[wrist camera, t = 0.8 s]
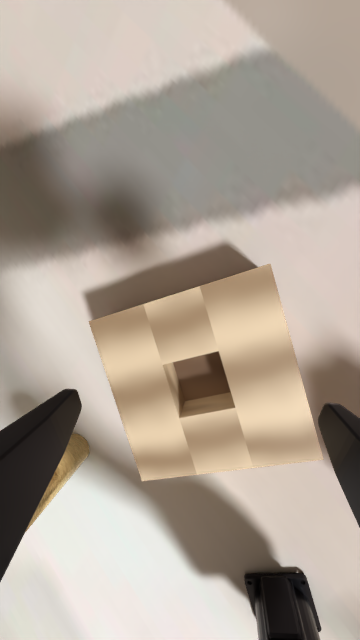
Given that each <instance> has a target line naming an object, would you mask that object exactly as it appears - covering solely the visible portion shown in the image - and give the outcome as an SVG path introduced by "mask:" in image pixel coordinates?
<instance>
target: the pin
mask: <svg viewBox="0 0 360 640" xmlns="http://www.w3.org/2000/svg"><path fill="white" fill-rule="evenodd" d="M88 455H89V445H88V443H87V441H86V440H85V439H84V438H83V437H82V436H80V435H78V434H72V435H71V438H70V440H69V443H68V445H67V448H66V450H65V452H64V455H63V457H62V459H61V461H60V463H59V465H58V467H57V469H56V471H55V473H54V475H53V477H52V479H51V481H50V483H49V485H48V487H47V489H46V491H45V493H44V495H43V497H42V499H41V501H40V503H39V505H38V507H37V509H36V511H35V513H34V515H33V517H32V519H31V521H30V523H29V525H28V527H27V529H26V531H27V530H28V528H29V527H30V526H31V525H32V524H33V522H34V521H35V520H36V519H37V517H38V516H39V515H40V514H41V513H42V511H43V510H44V509H45V508H46V507H47V505H48V504H49V503H50V502H51V500H52V499H53V498H54V497H55V496H56V494H57V493H58V492H59V491H60V489H61V488H62V487H63V486H64V485H65V483H66V482H67V481H68V480H69V478H70V477H71V476H72V475H73V474H74V472H75V471H76V470H77V469H78V467H79V466H80V465H81V464H82V463H83V461H84V460H85V459H86V458H87V456H88ZM26 531H25V532H26Z"/></svg>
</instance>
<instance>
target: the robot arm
mask: <svg viewBox="0 0 360 640" xmlns="http://www.w3.org/2000/svg"><path fill="white" fill-rule="evenodd" d="M81 407H82V405H81V401H80V398H79V395H78V392H77V390H75V389H64V390H62V391H61V392H59V393H58V394H56V395H55V396H53V397H52V398H50V399H49V400H47V401H46V402H44V403H42V404H41V405H39V406H38V407H36V408H35V409H33V410H32V411H30V412H29V413H27V414H26V415H24V416H22V417H21V418H19V419H18V420H16V421H15V422H13V423H12V424H10V425H9V426H7V427H6V428H4V429H3V430H1V431H0V582H1V580H2V578H3V576H4V574H5V572H6V570H7V568H8V566H9V564H10V562H11V559H12V557H13V555H14V553H15V551H16V549H17V547H18V545H19V543H20V541H21V539H22V537H23V535H24V533H25V531H26V529H27V527H28V525H29V523H30V521H31V519H32V517H33V515H34V513H35V511H36V509H37V507H38V505H39V503H40V501H41V499H42V497H43V495H44V493H45V491H46V489H47V487H48V485H49V483H50V481H51V479H52V477H53V475H54V473H55V471H56V469H57V467H58V465H59V463H60V461H61V459H62V457H63V455H64V452H65V450H66V448H67V445H68V443H69V440H70V438H71V435H72V432H73V430H74V427H75V425H76V422H77V419H78V417H79V414H80V412H81ZM318 424H319V428H320V431H321V434H322V437H323V439H324V442H325V445H326V448H327V451H328V454H329V457H330V460H331V463H332V466H333V468H334V471H335V474H336V476H337V478H338V481H339V483H340V485H341V487H342V490H343V492H344V494H345V496H346V498H347V501H348V503H349V505H350V507H351V509H352V512H353V514H354V516H355V518H356V520H357V523H358V525H359V527H360V418H358V417H357V416H356V415H354V414H353V413H352V412H350V411H349V410H347V409H346V408H345V407H343V406H342V405H340V404H337V403H326V404H324V406H323V408H322V411H321V413H320V416H319V419H318ZM244 578H245V585H246V588H247V591H248V594H249V598H250V601H251V604H252V607H253V610H254V614H255V617H256V620H257V629H258V638H259V640H320V637H319V634H318V632H320V631H321V626H320V623H319V619H318V616H317V612H316V609H315V605H314V602H313V598H312V595H311V591H310V588H309V584H308V581H307V578H306V576H305V575H304V574H301V573H294V574H246V575H245V576H244Z"/></svg>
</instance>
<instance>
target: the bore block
mask: <svg viewBox="0 0 360 640" xmlns="http://www.w3.org/2000/svg"><path fill="white" fill-rule="evenodd" d="M89 324H90V327H91V330H92V333H93V336H94V339H95V342H96V345H97V348H98V351H99V354H100V357H101V360H102V363H103V366H104V369H105V372H106V375H107V378H108V381H109V384H110V387H111V390H112V393H113V396H114V399H115V402H116V405H117V408H118V411H119V414H120V417H121V420H122V423H123V426H124V429H125V432H126V435H127V438H128V441H129V444H130V446H131V449H132V452H133V455H134V458H135V461H136V464H137V467H138V470H139V473H140V476H141V479H142V481H148V480H157V479H165V478H173V477H182V476H190V475H199V474H207V473H215V472H224V471H232V470H241V469H249V468H257V467H266V466H274V465H283V464H291V463H299V462H308V461H316V460H324V459H323V456H322V452H321V448H320V445H319V441H318V437H317V433H316V430H315V426H314V422H313V419H312V415H311V411H310V408H309V404H308V400H307V397H306V393H305V389H304V386H303V382H302V378H301V375H300V371H299V367H298V364H297V360H296V356H295V353H294V349H293V345H292V342H291V338H290V334H289V330H288V327H287V323H286V319H285V316H284V312H283V308H282V305H281V301H280V297H279V294H278V290H277V286H276V283H275V279H274V275H273V272H272V268H271V264H267V265H264V266H261V267H258V268H254V269H251V270H248V271H245V272H242V273H239V274H236V275H233V276H229V277H226V278H223V279H220V280H217V281H214V282H211V283H208V284H204V285H201V286H198V287H195V288H192V289H189V290H186V291H183V292H179V293H176V294H173V295H170V296H167V297H164V298H161V299H157V300H154V301H151V302H148V303H145V304H142V305H139V306H136V307H132V308H129V309H126V310H123V311H120V312H117V313H114V314H111V315H107V316H104V317H101V318H98V319H95V320H92V321H89Z"/></svg>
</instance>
